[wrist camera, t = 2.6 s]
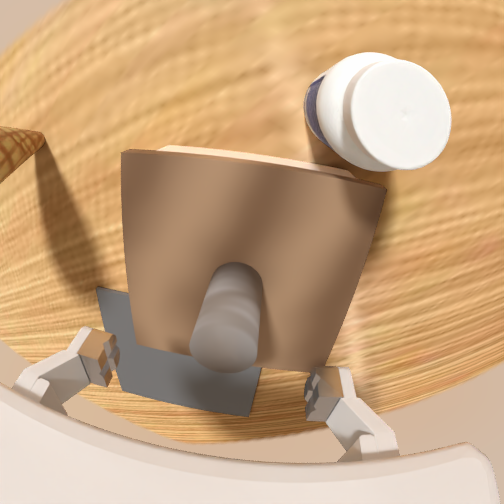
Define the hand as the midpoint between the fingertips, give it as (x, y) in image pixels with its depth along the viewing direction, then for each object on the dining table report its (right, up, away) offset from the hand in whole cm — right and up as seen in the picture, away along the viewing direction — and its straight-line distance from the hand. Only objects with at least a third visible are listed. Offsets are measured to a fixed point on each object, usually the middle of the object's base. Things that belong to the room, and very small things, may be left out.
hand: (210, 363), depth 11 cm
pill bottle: (+8, +14, +6) cm, 16 cm away
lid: (+1, +3, +6) cm, 7 cm away
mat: (-6, -7, +17) cm, 19 cm away
